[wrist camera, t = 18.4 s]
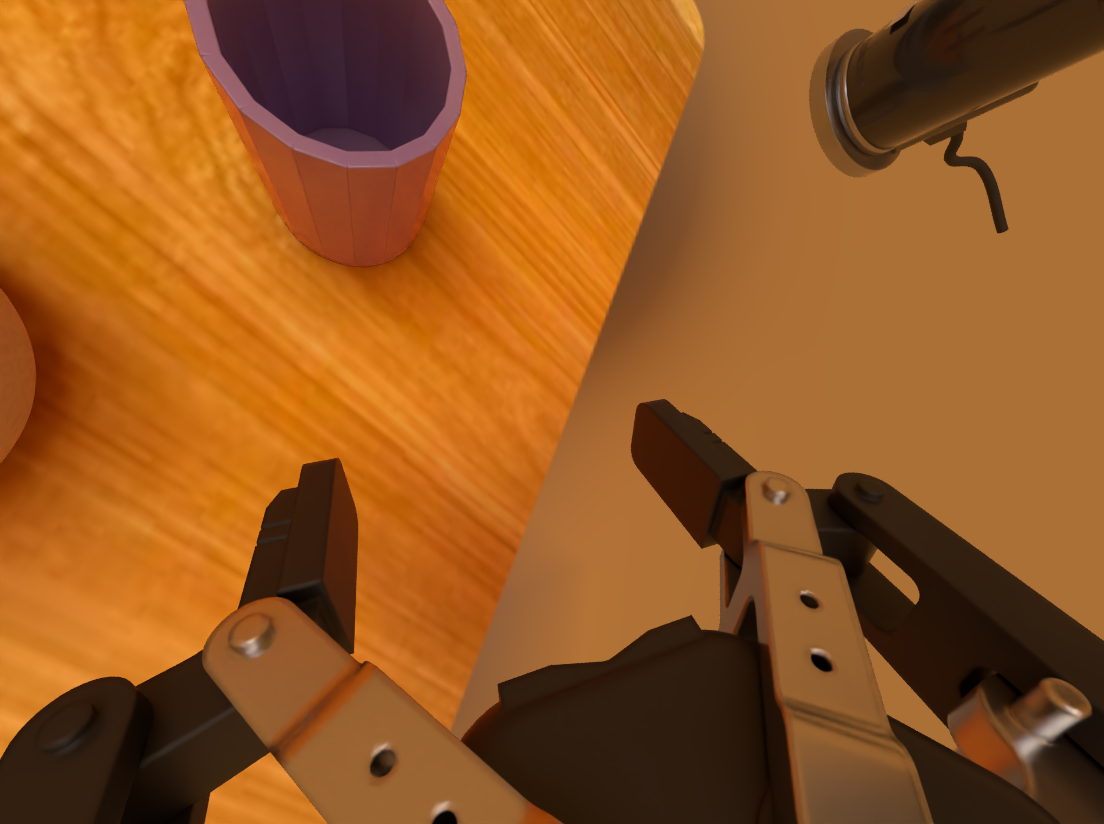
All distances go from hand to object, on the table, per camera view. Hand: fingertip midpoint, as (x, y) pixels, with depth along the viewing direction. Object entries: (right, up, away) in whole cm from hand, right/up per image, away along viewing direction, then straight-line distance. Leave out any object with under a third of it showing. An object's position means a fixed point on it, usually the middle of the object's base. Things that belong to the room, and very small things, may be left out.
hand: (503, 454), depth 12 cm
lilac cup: (-8, +11, +9) cm, 16 cm away
